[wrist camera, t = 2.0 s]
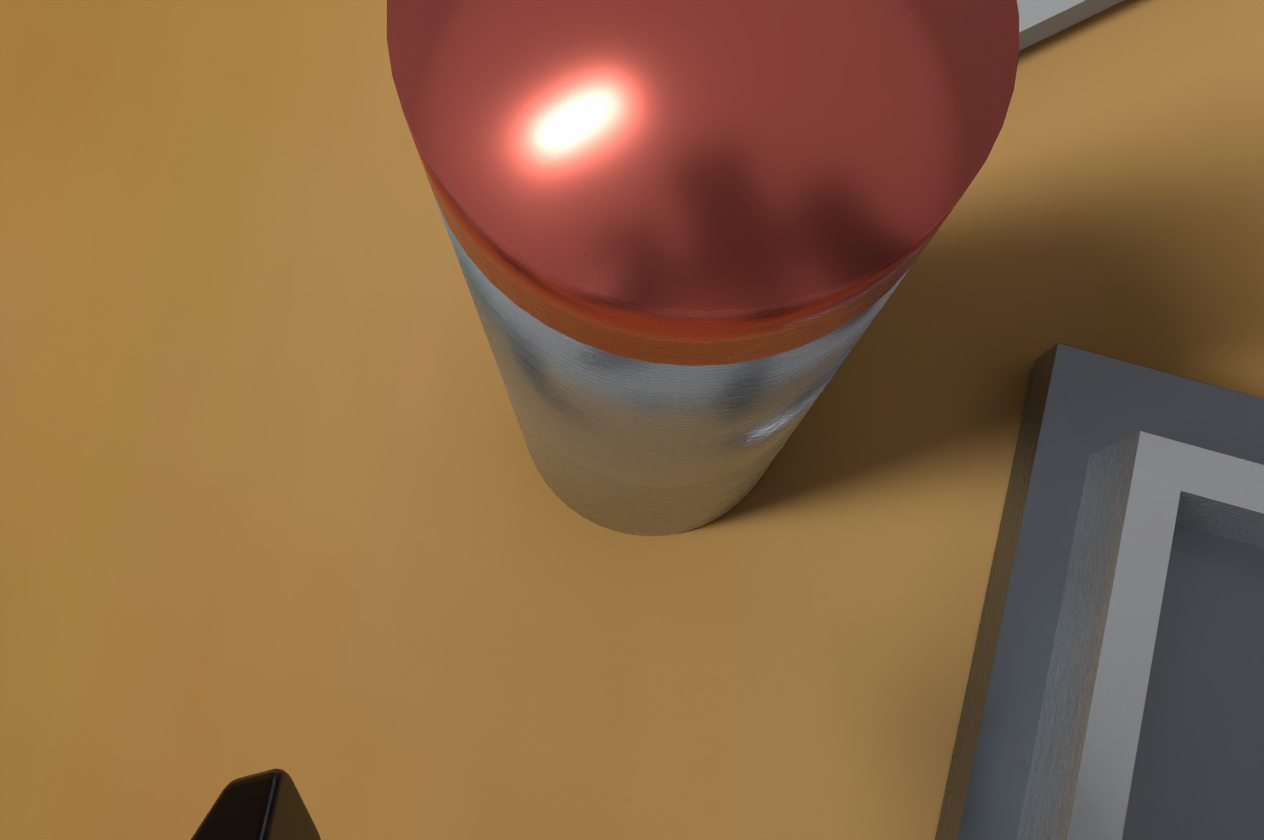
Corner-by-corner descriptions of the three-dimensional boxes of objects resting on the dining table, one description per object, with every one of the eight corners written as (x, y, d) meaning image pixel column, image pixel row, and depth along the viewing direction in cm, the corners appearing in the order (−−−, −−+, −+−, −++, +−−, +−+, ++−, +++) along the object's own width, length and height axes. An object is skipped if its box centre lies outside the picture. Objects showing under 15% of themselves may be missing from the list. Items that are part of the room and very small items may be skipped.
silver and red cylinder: (743, 567, 21) (946, 387, 8) (488, 494, 21) (296, 208, 8) (806, 324, 22) (1072, -172, 9) (564, 257, 22) (497, -314, 9)
